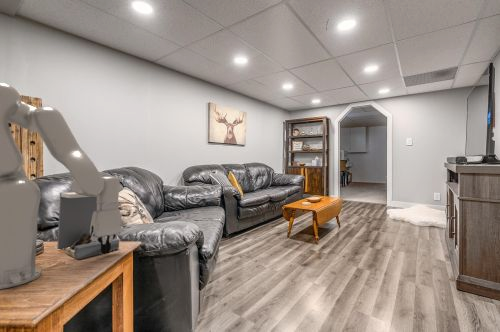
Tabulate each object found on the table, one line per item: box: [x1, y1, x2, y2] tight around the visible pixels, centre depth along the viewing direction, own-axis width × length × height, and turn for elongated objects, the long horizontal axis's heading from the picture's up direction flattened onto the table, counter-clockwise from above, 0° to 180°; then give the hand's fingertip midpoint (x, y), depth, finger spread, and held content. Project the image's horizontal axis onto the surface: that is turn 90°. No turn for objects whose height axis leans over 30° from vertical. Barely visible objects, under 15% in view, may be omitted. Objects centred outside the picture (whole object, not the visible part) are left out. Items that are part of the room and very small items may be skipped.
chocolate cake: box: [70, 231, 98, 250], centre depth 100 cm, size 10×7×12 cm
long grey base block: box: [64, 237, 120, 261], centre depth 96 cm, size 12×15×4 cm
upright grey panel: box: [57, 191, 97, 250], centre depth 102 cm, size 10×15×24 cm, turn 148°
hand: (105, 252), depth 90 cm, fingers closed
